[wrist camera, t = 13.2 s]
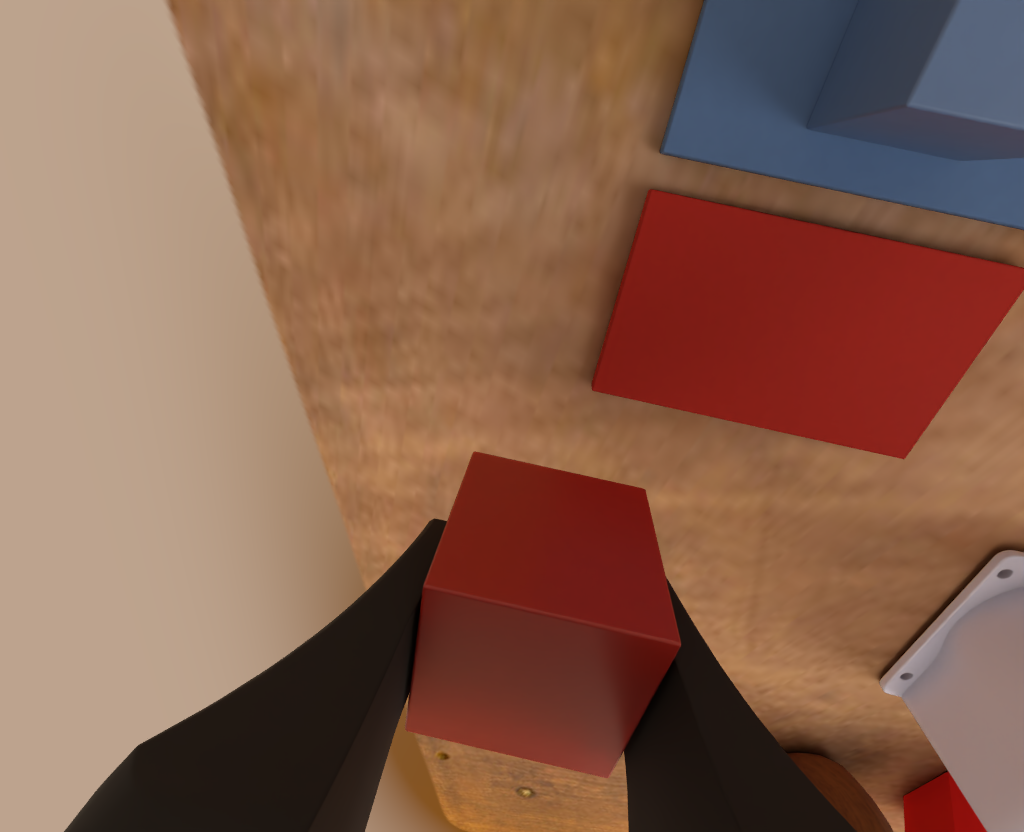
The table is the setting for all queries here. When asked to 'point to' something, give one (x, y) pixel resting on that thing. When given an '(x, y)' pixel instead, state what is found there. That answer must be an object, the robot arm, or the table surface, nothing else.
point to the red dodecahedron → (939, 808)
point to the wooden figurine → (842, 792)
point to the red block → (542, 618)
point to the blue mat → (788, 108)
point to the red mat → (796, 323)
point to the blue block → (930, 78)
